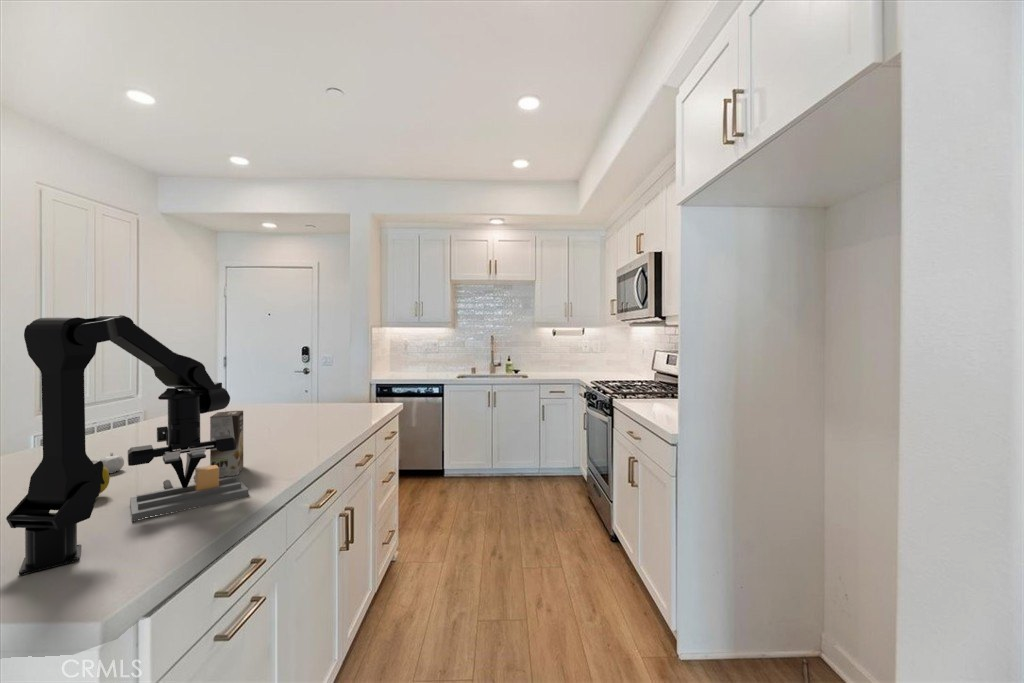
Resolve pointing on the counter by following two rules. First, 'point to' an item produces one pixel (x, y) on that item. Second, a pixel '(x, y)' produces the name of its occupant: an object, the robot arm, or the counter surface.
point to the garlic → (113, 462)
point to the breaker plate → (185, 498)
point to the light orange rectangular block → (206, 477)
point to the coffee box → (232, 426)
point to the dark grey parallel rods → (169, 484)
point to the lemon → (105, 479)
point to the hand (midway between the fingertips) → (184, 487)
